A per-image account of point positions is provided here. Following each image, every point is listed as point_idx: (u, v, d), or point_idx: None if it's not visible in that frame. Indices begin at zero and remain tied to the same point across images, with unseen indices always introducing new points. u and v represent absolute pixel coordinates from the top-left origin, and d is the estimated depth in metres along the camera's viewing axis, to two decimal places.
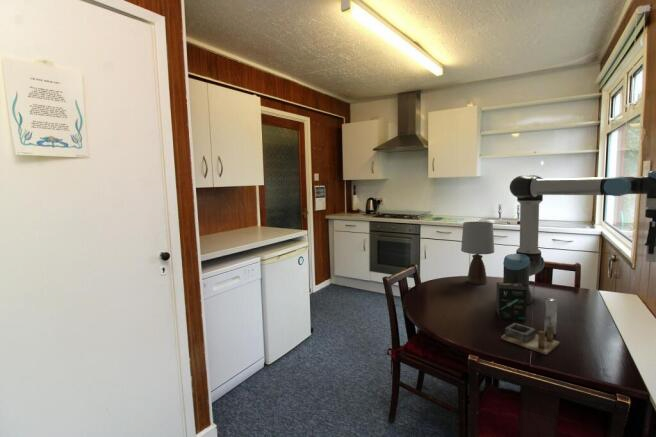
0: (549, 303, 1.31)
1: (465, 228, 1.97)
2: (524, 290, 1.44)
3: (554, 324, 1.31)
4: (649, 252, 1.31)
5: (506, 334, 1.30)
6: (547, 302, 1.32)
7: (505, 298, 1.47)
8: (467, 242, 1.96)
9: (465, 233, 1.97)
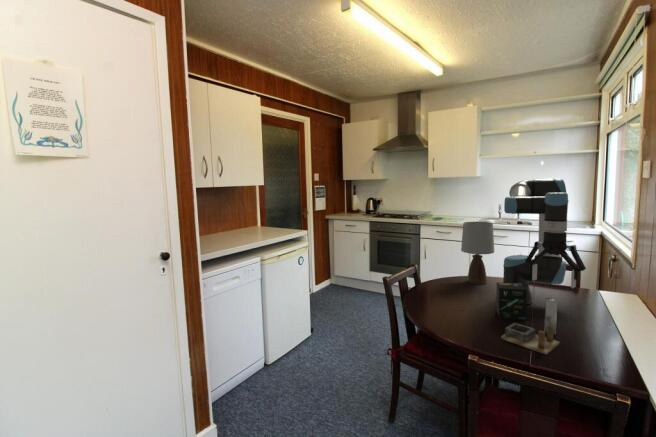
0: (549, 303, 1.31)
1: (465, 228, 1.97)
2: (524, 290, 1.44)
3: (554, 324, 1.31)
4: None
5: (506, 334, 1.30)
6: (547, 302, 1.32)
7: (505, 298, 1.47)
8: (467, 242, 1.96)
9: (465, 233, 1.97)
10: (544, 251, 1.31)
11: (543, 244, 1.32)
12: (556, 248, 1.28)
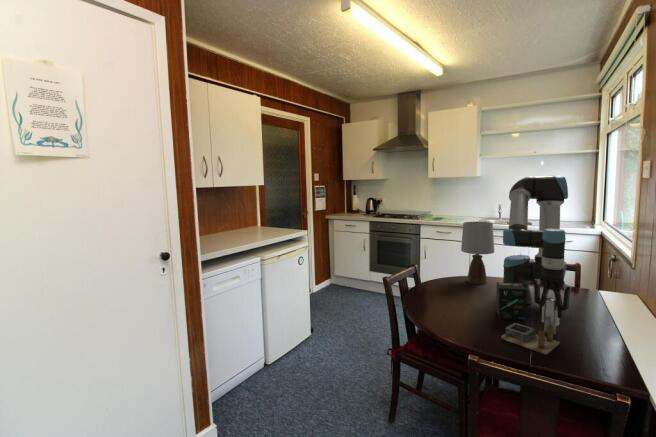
0: (549, 303, 1.31)
1: (465, 228, 1.97)
2: (524, 290, 1.44)
3: (554, 324, 1.31)
4: None
5: (506, 334, 1.30)
6: (547, 302, 1.32)
7: (505, 298, 1.47)
8: (467, 242, 1.96)
9: (465, 233, 1.97)
10: (545, 288, 1.32)
11: (541, 280, 1.34)
12: (553, 284, 1.29)
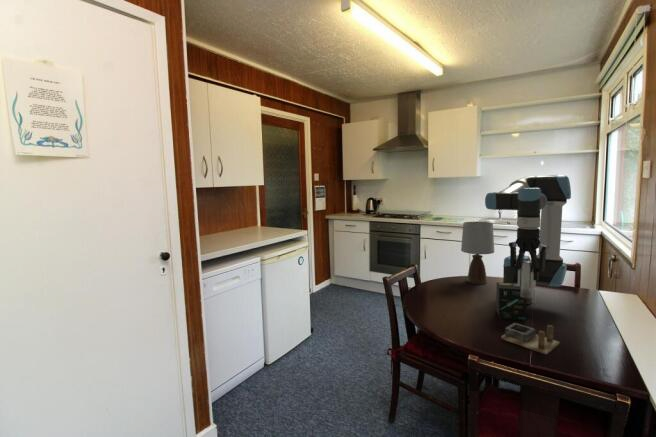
0: (525, 265, 1.26)
1: (465, 228, 1.97)
2: None
3: (530, 287, 1.26)
4: None
5: (506, 334, 1.30)
6: (523, 264, 1.27)
7: (505, 298, 1.47)
8: (467, 242, 1.96)
9: (465, 233, 1.97)
10: (520, 250, 1.27)
11: (516, 242, 1.29)
12: (529, 245, 1.24)
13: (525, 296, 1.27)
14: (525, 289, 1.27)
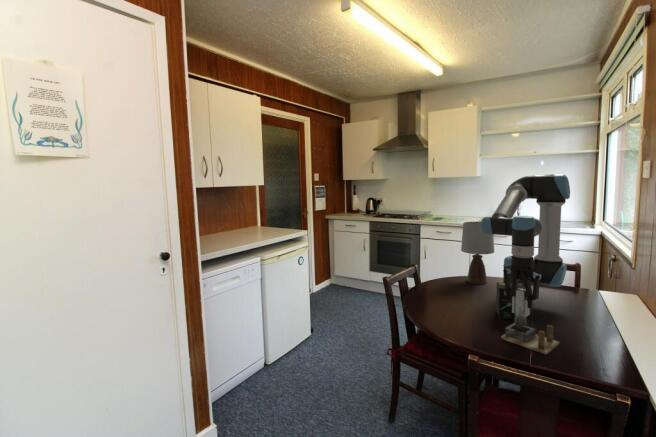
0: (519, 293, 1.27)
1: (465, 228, 1.97)
2: None
3: (524, 315, 1.27)
4: None
5: (506, 334, 1.30)
6: (517, 292, 1.27)
7: (505, 298, 1.47)
8: (467, 242, 1.96)
9: (465, 233, 1.97)
10: (515, 277, 1.28)
11: (511, 269, 1.29)
12: (523, 273, 1.25)
13: (519, 323, 1.28)
14: (519, 317, 1.28)
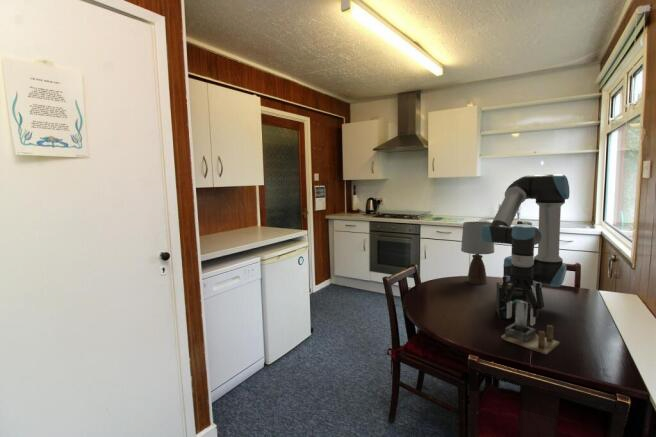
0: (519, 306, 1.27)
1: (465, 228, 1.97)
2: (524, 290, 1.44)
3: (524, 327, 1.28)
4: None
5: (506, 334, 1.30)
6: (517, 304, 1.28)
7: None
8: (467, 242, 1.96)
9: (465, 233, 1.97)
10: (513, 286, 1.29)
11: (510, 277, 1.30)
12: (523, 282, 1.25)
13: None
14: (519, 329, 1.28)
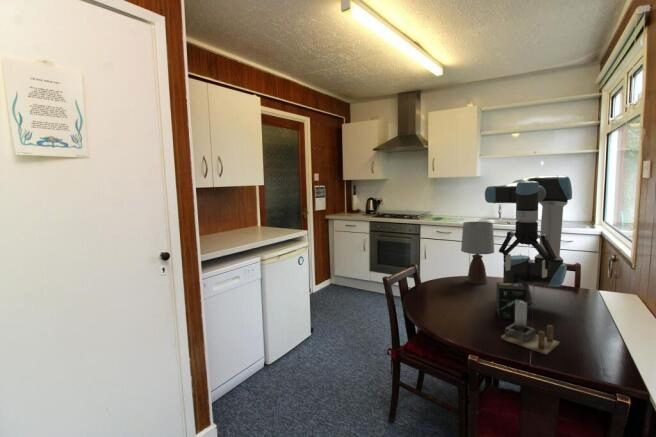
0: (519, 306, 1.27)
1: (465, 228, 1.97)
2: (524, 290, 1.44)
3: (524, 327, 1.28)
4: None
5: (506, 334, 1.30)
6: (517, 304, 1.28)
7: (505, 298, 1.47)
8: (467, 242, 1.96)
9: (465, 233, 1.97)
10: (516, 241, 1.30)
11: (515, 234, 1.31)
12: (527, 238, 1.26)
13: None
14: (519, 329, 1.28)
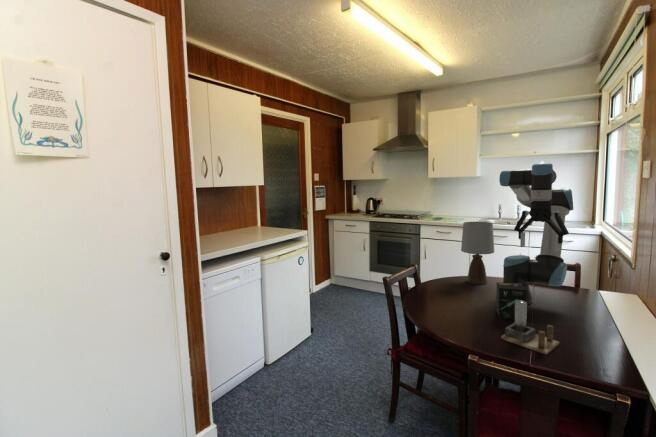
0: (519, 306, 1.27)
1: (465, 228, 1.97)
2: (524, 290, 1.44)
3: (524, 327, 1.28)
4: None
5: (506, 334, 1.30)
6: (517, 304, 1.28)
7: (505, 298, 1.47)
8: (467, 242, 1.96)
9: (465, 233, 1.97)
10: (531, 219, 1.41)
11: (530, 212, 1.42)
12: (542, 215, 1.38)
13: None
14: (519, 329, 1.28)
